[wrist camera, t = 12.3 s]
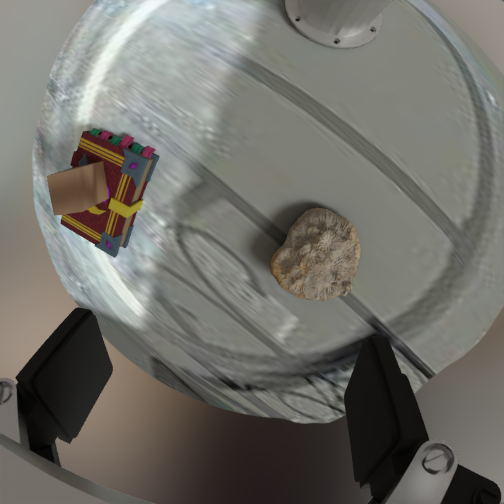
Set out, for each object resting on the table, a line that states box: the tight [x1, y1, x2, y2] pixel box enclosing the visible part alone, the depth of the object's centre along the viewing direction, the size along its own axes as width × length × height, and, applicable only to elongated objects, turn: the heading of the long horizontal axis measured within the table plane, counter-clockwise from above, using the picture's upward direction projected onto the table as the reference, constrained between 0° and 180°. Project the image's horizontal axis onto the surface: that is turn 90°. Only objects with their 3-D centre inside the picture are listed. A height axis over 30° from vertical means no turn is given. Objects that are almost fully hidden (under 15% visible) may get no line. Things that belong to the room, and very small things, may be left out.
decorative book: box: [61, 128, 159, 258], centre depth 37 cm, size 11×16×5 cm
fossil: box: [270, 207, 361, 301], centre depth 37 cm, size 12×8×10 cm
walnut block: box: [47, 161, 109, 216], centre depth 31 cm, size 5×5×6 cm
